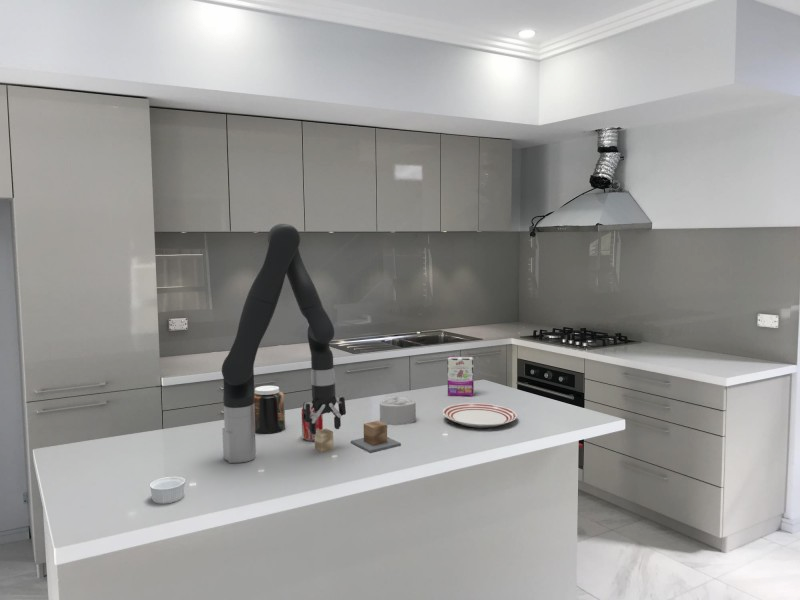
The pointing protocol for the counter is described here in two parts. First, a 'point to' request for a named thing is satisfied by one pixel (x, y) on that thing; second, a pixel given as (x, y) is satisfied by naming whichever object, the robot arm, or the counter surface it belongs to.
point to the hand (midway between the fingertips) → (325, 431)
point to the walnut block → (375, 433)
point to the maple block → (324, 440)
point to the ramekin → (167, 489)
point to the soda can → (305, 426)
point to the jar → (269, 410)
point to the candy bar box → (460, 376)
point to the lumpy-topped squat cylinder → (397, 411)
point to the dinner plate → (479, 415)
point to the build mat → (375, 448)
